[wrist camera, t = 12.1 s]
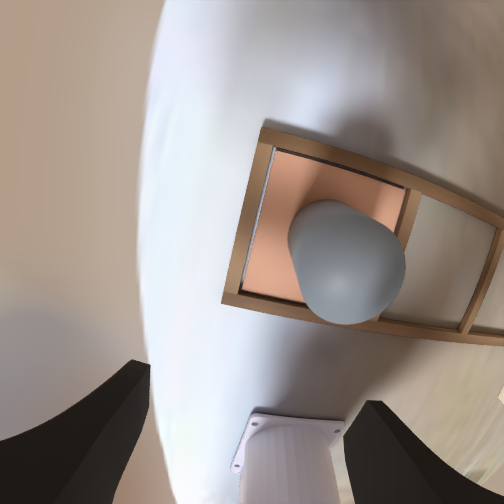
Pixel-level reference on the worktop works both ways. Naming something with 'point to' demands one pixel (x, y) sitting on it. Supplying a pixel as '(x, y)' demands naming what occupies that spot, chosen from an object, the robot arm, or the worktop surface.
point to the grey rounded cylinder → (344, 262)
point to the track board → (353, 194)
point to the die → (501, 396)
